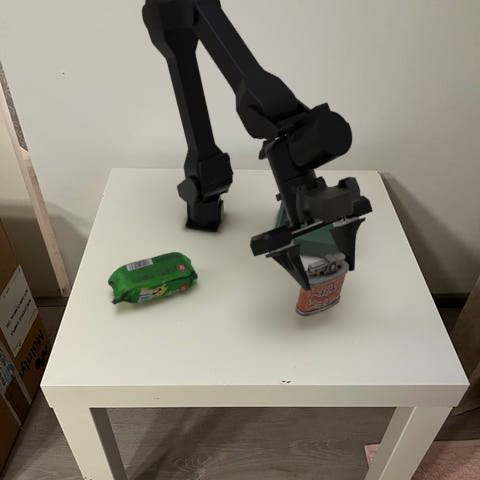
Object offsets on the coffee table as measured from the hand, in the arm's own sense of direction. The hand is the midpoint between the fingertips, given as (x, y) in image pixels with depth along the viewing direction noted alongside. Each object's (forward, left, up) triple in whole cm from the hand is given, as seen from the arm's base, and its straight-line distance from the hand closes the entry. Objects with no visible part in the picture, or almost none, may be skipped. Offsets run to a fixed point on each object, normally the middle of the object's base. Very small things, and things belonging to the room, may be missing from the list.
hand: (330, 280), depth 72 cm
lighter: (-1, +1, -7) cm, 7 cm away
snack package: (-29, +3, -11) cm, 31 cm away
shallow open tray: (-4, +24, -10) cm, 26 cm away
